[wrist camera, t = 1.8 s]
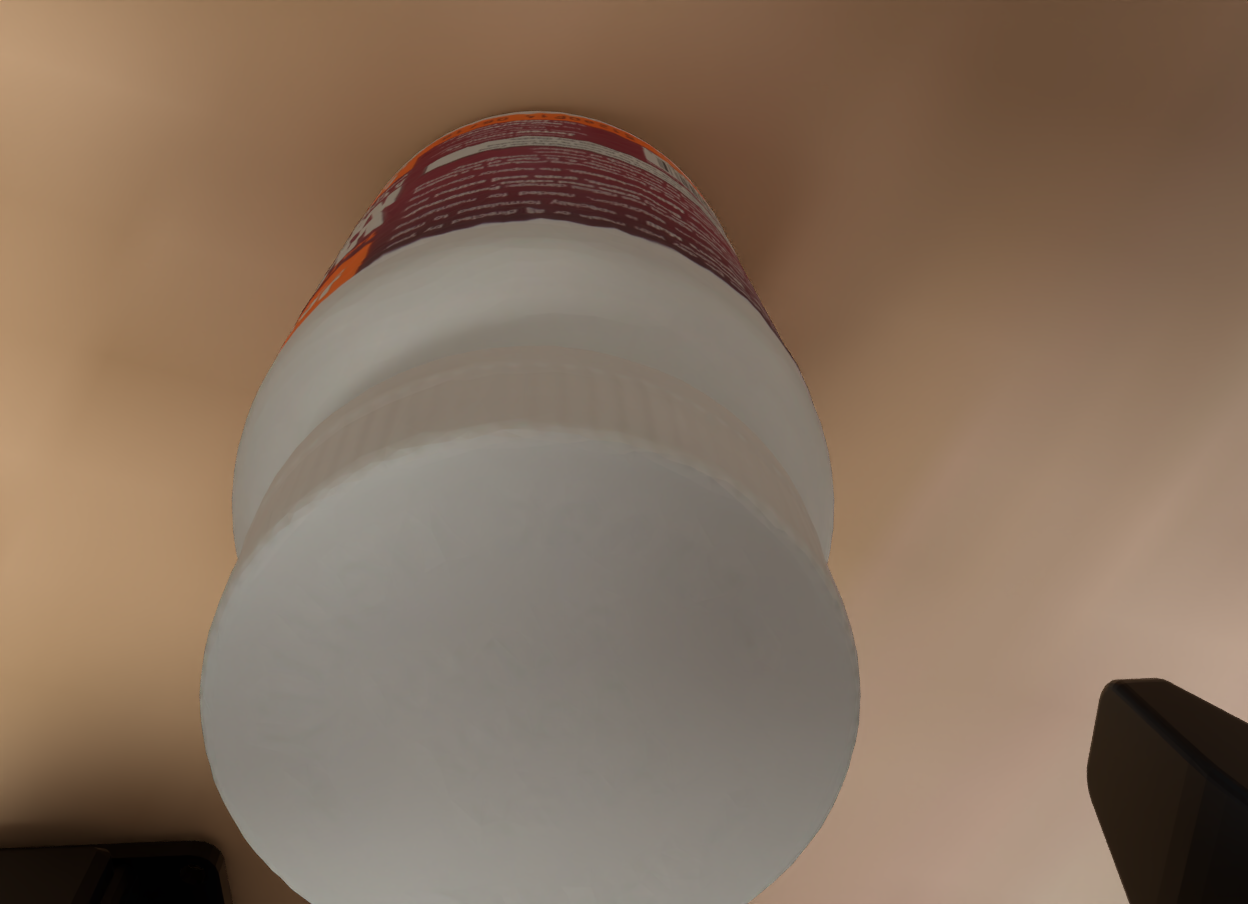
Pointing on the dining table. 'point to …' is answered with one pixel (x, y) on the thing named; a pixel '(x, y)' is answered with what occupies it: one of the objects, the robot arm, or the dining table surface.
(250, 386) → the dining table surface
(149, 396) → the dining table surface
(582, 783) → the pill bottle
